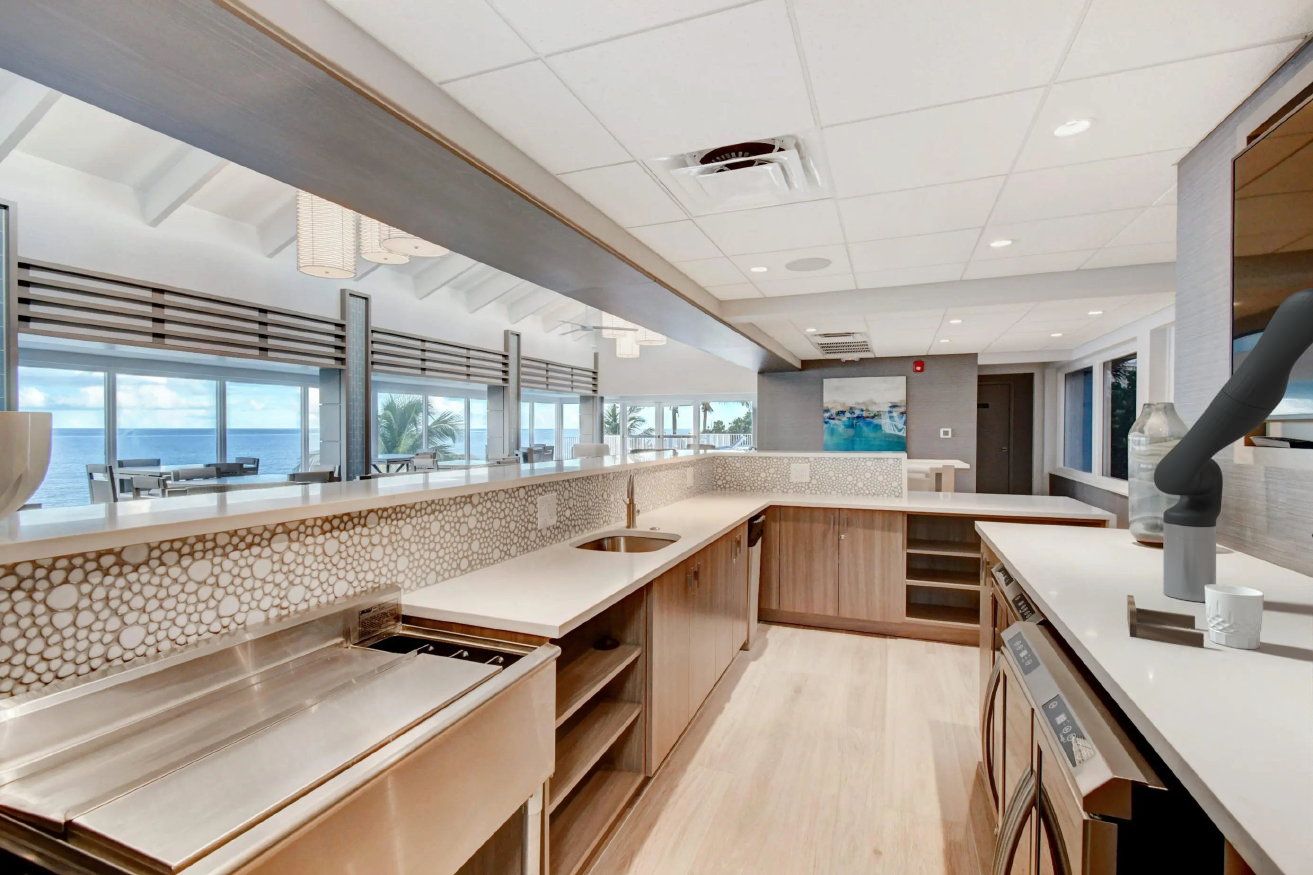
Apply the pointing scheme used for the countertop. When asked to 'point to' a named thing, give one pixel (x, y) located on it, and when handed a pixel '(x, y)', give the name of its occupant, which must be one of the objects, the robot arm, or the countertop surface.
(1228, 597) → the white cup
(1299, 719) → the countertop surface
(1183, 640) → the walnut bay
